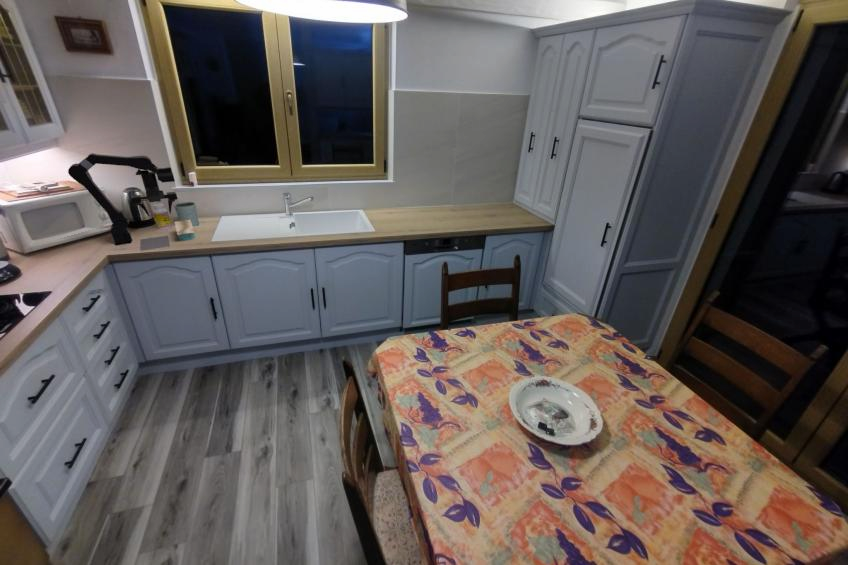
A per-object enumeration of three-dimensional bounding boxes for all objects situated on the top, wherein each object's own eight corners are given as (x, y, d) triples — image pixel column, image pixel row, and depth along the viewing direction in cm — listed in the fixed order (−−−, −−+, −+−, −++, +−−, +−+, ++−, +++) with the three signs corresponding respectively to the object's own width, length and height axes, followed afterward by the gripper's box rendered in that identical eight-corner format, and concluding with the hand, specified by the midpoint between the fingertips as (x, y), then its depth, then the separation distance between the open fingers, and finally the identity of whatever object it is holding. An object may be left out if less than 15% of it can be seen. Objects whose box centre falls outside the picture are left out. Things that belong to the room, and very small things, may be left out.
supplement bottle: (167, 229, 208) (160, 206, 202) (154, 229, 208) (147, 206, 202) (174, 225, 214) (168, 203, 208) (162, 225, 214) (155, 202, 208)
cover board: (177, 234, 188) (176, 230, 187) (175, 226, 198) (174, 221, 197) (194, 232, 192) (193, 227, 190) (191, 224, 202) (190, 219, 201)
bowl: (180, 242, 193) (177, 232, 191) (179, 237, 198) (176, 228, 196) (195, 239, 197) (193, 230, 194) (194, 235, 202) (192, 226, 199)
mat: (140, 251, 181) (140, 250, 181) (140, 240, 194) (140, 239, 194) (170, 247, 187) (169, 246, 187) (168, 236, 200) (168, 235, 200)
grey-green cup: (194, 228, 211) (188, 207, 205) (175, 228, 211) (169, 206, 205) (203, 222, 220) (198, 202, 214) (186, 222, 220) (180, 201, 214)
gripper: (126, 189, 176) (136, 221, 183) (173, 185, 185) (182, 216, 192) (127, 183, 184) (137, 215, 191) (172, 180, 193) (180, 210, 200)
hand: (159, 214), depth 193 cm, fingers open, 9 cm apart
